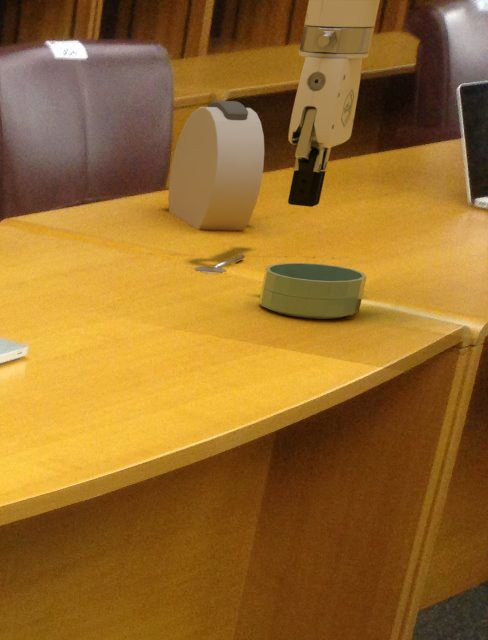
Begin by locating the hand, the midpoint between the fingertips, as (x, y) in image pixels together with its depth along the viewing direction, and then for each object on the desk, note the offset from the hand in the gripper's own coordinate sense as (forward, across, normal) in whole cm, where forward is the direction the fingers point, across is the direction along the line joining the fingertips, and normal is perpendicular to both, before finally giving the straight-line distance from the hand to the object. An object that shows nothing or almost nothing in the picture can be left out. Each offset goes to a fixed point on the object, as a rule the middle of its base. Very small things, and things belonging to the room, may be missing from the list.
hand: (303, 204), depth 187 cm
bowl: (+15, +12, 0) cm, 19 cm away
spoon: (+15, +32, +18) cm, 40 cm away
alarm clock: (+15, +64, +32) cm, 73 cm away
